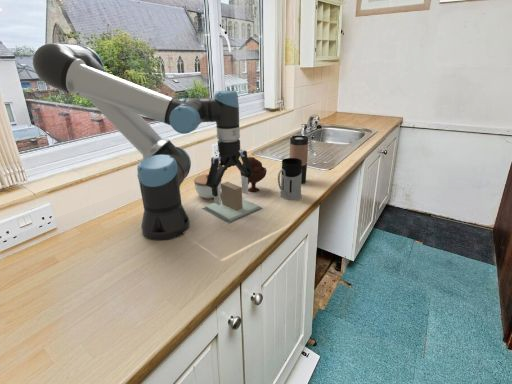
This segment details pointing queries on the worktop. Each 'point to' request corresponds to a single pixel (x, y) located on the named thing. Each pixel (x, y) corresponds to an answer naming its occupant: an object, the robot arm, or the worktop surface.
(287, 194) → the glass holder
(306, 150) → the travel mug
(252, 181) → the ice cream bowl
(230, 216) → the board
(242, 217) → the square tray
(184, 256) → the worktop surface
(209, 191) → the lidded jar
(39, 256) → the worktop surface
